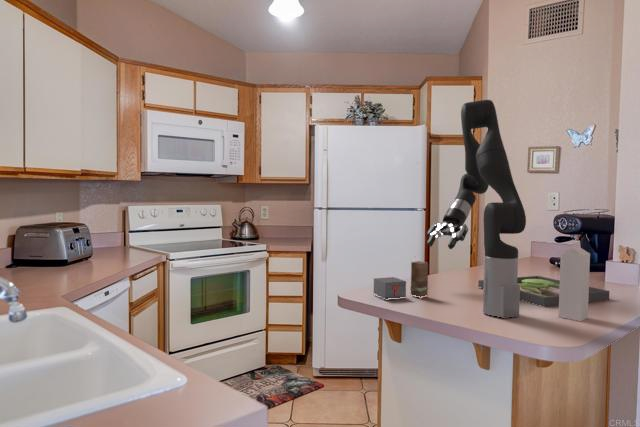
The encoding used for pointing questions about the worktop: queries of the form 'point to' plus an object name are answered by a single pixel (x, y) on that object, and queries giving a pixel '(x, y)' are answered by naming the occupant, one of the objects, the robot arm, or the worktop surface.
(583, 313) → the milk
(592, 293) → the dark gray tray
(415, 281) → the column
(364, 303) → the worktop surface
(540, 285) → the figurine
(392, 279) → the block
